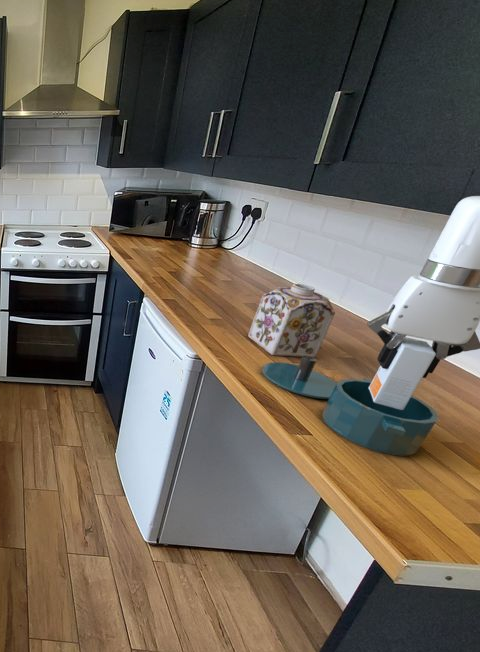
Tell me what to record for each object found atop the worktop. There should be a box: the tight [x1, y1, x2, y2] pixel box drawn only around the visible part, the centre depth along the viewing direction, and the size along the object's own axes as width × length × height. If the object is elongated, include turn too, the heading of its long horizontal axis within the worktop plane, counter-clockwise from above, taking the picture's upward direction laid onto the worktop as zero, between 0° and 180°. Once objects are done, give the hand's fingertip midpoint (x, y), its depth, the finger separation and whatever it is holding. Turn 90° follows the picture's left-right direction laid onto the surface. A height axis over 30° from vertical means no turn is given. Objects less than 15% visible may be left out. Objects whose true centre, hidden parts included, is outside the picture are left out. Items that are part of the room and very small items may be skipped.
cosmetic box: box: [369, 336, 436, 410], centre depth 74 cm, size 6×4×12 cm
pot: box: [321, 377, 440, 457], centre depth 78 cm, size 14×19×8 cm
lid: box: [261, 356, 338, 400], centre depth 93 cm, size 15×15×7 cm
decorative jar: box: [247, 283, 336, 358], centre depth 108 cm, size 12×12×18 cm
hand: (401, 369), depth 73 cm, fingers closed on cosmetic box, 4 cm apart
